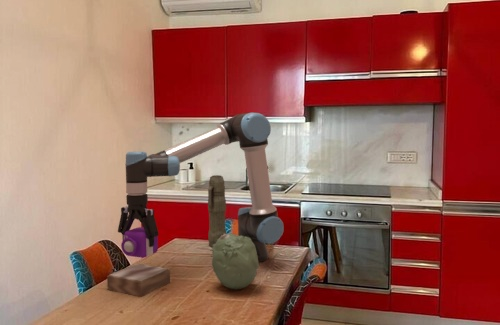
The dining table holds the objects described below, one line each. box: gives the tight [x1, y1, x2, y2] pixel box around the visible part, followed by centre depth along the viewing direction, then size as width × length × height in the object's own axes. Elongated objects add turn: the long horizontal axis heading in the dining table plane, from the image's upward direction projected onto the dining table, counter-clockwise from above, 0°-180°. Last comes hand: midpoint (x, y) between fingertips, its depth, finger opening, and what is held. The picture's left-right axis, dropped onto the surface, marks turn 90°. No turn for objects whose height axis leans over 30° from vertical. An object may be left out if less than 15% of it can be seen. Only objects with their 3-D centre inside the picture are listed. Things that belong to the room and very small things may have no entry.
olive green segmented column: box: [207, 174, 227, 248], centre depth 217 cm, size 9×12×35 cm
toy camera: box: [120, 226, 159, 259], centre depth 161 cm, size 11×14×10 cm
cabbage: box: [209, 233, 260, 290], centre depth 159 cm, size 16×19×20 cm
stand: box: [106, 262, 171, 298], centre depth 162 cm, size 16×16×5 cm
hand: (138, 253), depth 161 cm, fingers closed on toy camera, 10 cm apart
